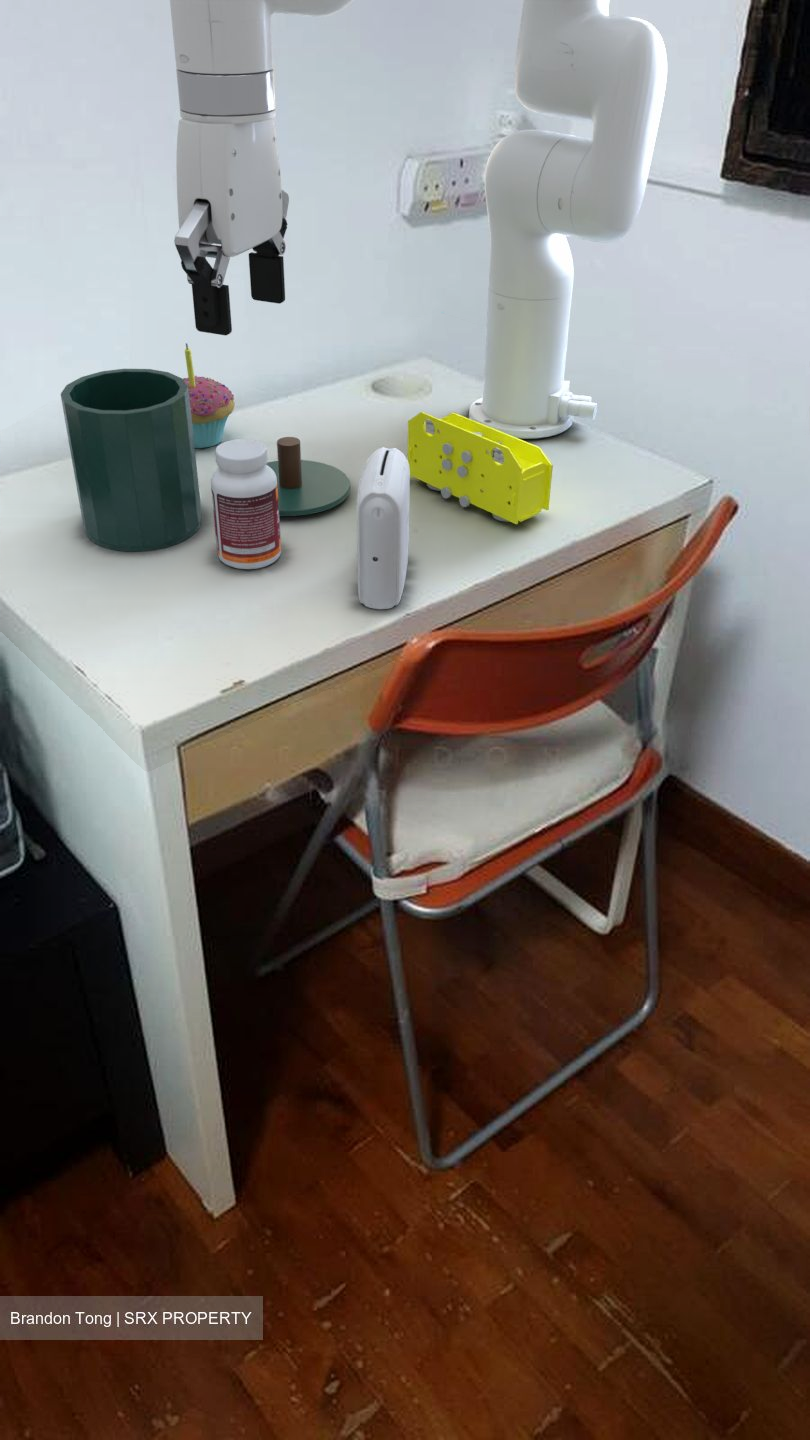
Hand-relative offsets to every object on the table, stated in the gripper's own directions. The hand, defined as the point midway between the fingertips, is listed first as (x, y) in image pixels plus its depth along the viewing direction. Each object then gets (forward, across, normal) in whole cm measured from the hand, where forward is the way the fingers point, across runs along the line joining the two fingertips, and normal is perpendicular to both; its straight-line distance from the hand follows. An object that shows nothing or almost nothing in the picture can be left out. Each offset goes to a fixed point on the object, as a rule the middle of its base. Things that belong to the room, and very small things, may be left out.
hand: (242, 316), depth 100 cm
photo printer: (+22, +2, +15) cm, 27 cm away
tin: (+22, +1, -12) cm, 25 cm away
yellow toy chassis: (+22, -18, +16) cm, 33 cm away
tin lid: (+22, -11, -2) cm, 24 cm away
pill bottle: (+22, +3, +1) cm, 22 cm away
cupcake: (+22, -20, -18) cm, 35 cm away
